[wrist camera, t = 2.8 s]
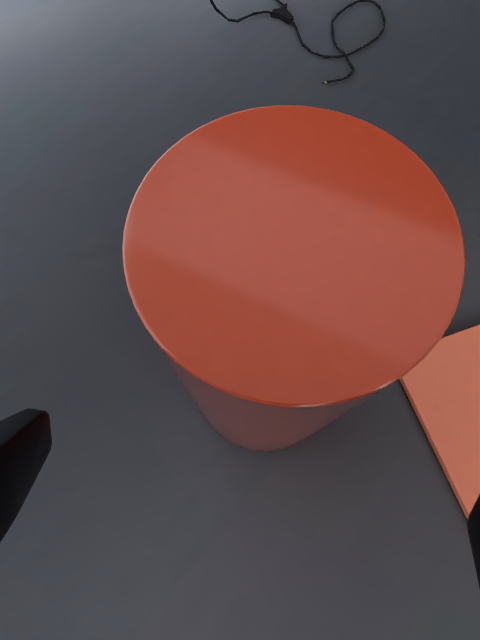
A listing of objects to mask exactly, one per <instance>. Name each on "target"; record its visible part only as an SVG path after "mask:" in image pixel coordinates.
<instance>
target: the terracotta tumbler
mask: <svg viewBox="0 0 480 640" xmlns="http://www.w3.org/2000/svg"><path fill="white" fill-rule="evenodd" d="M122 254H123V270H124V275H125V279H126V284H127V289H128V292H129V294H130V297H131V300H132V303H133V305H134V308H135V310H136V312H137V314H138V316H139V317H140V319H141V321H142V323H143V325H144V326H145V328H146V330H147V331H148V333H149V334H150V336H151V337H152V339H153V340H154V342H155V343H156V345H157V346H158V348H159V349H160V351H161V352H162V354H163V355H164V357H165V358H166V360H167V361H168V363H169V364H170V366H171V367H172V369H173V370H174V372H175V373H176V375H177V376H178V378H179V379H180V381H181V382H182V384H183V385H184V387H185V388H186V390H187V391H188V393H189V394H190V396H191V397H192V399H193V400H194V402H195V403H196V405H197V406H198V408H199V409H200V411H201V412H202V414H203V415H204V417H205V418H206V419H207V421H208V422H209V424H210V425H211V426H212V427H213V428H214V429H215V430H216V431H217V432H218V433H219V434H220V435H221V436H222V437H224V438H225V439H226V440H228V441H230V442H232V443H233V444H235V445H238V446H240V447H243V448H246V449H250V450H257V451H273V450H280V449H283V448H287V447H290V446H292V445H294V444H296V443H298V442H300V441H301V440H303V439H304V438H306V437H308V436H309V435H311V434H312V433H314V432H315V431H317V430H319V429H320V428H322V427H323V426H325V425H327V424H328V423H330V422H331V421H333V420H335V419H336V418H338V417H339V416H341V415H342V414H344V413H346V412H347V411H349V410H350V409H352V408H354V407H355V406H357V405H358V404H360V403H361V402H363V401H365V400H366V399H368V398H369V397H371V396H373V395H374V394H376V393H377V392H379V391H380V390H382V389H384V388H385V387H387V386H388V385H390V384H392V383H393V382H395V381H396V380H398V379H399V378H401V377H403V376H404V375H406V374H407V373H408V372H409V371H411V370H412V369H413V368H414V367H415V366H416V365H418V364H419V363H420V362H421V361H422V360H423V359H424V358H425V357H426V356H427V355H428V354H429V353H430V351H431V350H432V349H433V348H434V347H435V346H436V344H437V343H438V342H439V341H440V339H441V337H442V336H443V334H444V332H445V331H446V329H447V328H448V326H449V324H450V322H451V320H452V318H453V315H454V313H455V311H456V308H457V306H458V303H459V299H460V295H461V291H462V287H463V280H464V269H465V254H464V241H463V237H462V232H461V227H460V223H459V220H458V218H457V215H456V212H455V209H454V207H453V204H452V202H451V200H450V199H449V197H448V195H447V193H446V191H445V189H444V187H443V186H442V185H441V183H440V182H439V180H438V179H437V177H436V176H435V175H434V173H433V172H432V171H431V170H430V168H429V167H428V166H427V165H426V164H425V163H424V162H423V161H422V160H421V159H420V158H419V157H418V156H417V155H416V154H415V153H414V152H413V151H412V150H410V149H409V148H408V147H407V146H406V145H405V144H403V143H402V142H400V141H399V140H397V139H396V138H395V137H393V136H392V135H390V134H389V133H387V132H385V131H383V130H382V129H380V128H378V127H376V126H374V125H372V124H370V123H368V122H365V121H363V120H361V119H358V118H356V117H353V116H350V115H347V114H344V113H340V112H337V111H333V110H328V109H323V108H317V107H310V106H298V105H276V106H266V107H258V108H252V109H248V110H243V111H239V112H235V113H232V114H229V115H226V116H223V117H220V118H218V119H215V120H213V121H211V122H209V123H207V124H205V125H203V126H201V127H199V128H197V129H196V130H194V131H192V132H191V133H189V134H187V135H186V136H184V137H183V138H182V139H181V140H179V141H178V142H177V143H175V144H174V145H173V146H172V147H170V148H169V149H168V150H167V151H166V152H165V153H164V154H163V155H162V156H161V157H160V158H159V159H158V160H157V161H156V163H155V164H154V165H153V167H152V168H151V169H150V171H149V172H148V173H147V174H146V176H145V177H144V179H143V181H142V183H141V184H140V186H139V188H138V190H137V191H136V193H135V196H134V198H133V201H132V203H131V206H130V208H129V211H128V215H127V220H126V224H125V228H124V235H123V246H122Z"/></svg>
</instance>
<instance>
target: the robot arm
mask: <svg viewBox="0 0 480 640" xmlns="http://www.w3.org/2000/svg"><path fill="white" fill-rule="evenodd" d="M51 445H52V437H51V428H50V418H49V414H48V413H47V412H46V411H43V410H37V409H25V410H23V411H21V412H19V413H16V414H14V415H12V416H10V417H8V418H6V419H4V420H1V421H0V542H1V540H2V539H3V537H4V536H5V534H6V533H7V531H8V530H9V528H10V526H11V525H12V523H13V521H14V520H15V518H16V516H17V514H18V513H19V511H20V509H21V507H22V505H23V503H24V501H25V499H26V497H27V495H28V493H29V491H30V489H31V487H32V485H33V483H34V481H35V480H36V478H37V476H38V474H39V472H40V470H41V468H42V466H43V464H44V462H45V460H46V458H47V456H48V454H49V452H50V449H51ZM467 527H468V533H469V538H470V543H471V548H472V553H473V558H474V563H475V567H476V572H477V577H478V582H479V587H480V494H479V496H478V498H477V500H476V502H475V504H474V506H473V508H472V510H471V512H470V514H469V517H468V522H467Z"/></svg>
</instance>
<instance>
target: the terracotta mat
mask: <svg viewBox="0 0 480 640" xmlns="http://www.w3.org/2000/svg"><path fill="white" fill-rule="evenodd" d="M399 380H400V382H401V384H402V386H403V388H404V390H405V392H406V394H407V396H408V398H409V400H410V403H411V405H412V407H413V409H414V411H415V413H416V415H417V417H418V419H419V421H420V423H421V425H422V427H423V429H424V431H425V433H426V435H427V437H428V440H429V442H430V444H431V446H432V448H433V450H434V452H435V454H436V456H437V458H438V460H439V462H440V464H441V466H442V468H443V470H444V472H445V475H446V477H447V479H448V481H449V483H450V485H451V487H452V489H453V491H454V493H455V495H456V497H457V499H458V501H459V503H460V505H461V507H462V509H463V512H464V514H465V516H466V518H467V520H468V517H469V514H470V512H471V510H472V508H473V506H474V504H475V502H476V500H477V498H478V496H479V494H480V325H477V326H474V327H472V328H469V329H466V330H463V331H460V332H458V333H455V334H452V335H449V336H446V337H444V338H441V339H440V341H439V342H438V343H437V344H436V346H435V347H434V348H433V349H432V350H431V351H430V353H429V354H428V355H427V356H426V357H425V358H424V359H423V360H422V361H421V362H420V363H419V364H418V365H416V366H415V367H414V368H413V369H412V370H411V371H409V372H408V373H407V374H406V375H404V376H403V377H401V378H399Z"/></svg>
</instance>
